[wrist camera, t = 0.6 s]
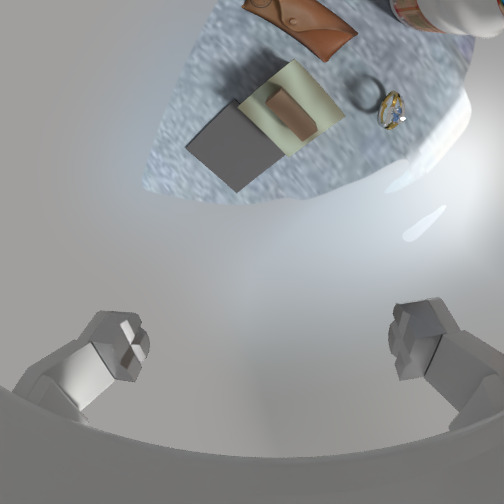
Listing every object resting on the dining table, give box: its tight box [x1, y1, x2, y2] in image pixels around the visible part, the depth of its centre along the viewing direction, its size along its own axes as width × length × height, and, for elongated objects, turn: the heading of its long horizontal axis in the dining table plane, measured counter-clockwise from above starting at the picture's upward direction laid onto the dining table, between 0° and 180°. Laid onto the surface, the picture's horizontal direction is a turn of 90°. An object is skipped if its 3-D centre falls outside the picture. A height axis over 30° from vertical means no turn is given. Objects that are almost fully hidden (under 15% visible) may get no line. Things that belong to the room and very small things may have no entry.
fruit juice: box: [389, 0, 504, 38], centre depth 17 cm, size 9×9×28 cm
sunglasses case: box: [242, 0, 358, 62], centre depth 32 cm, size 18×7×7 cm
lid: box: [238, 59, 345, 157], centre depth 39 cm, size 12×12×5 cm
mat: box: [186, 100, 286, 193], centre depth 52 cm, size 14×14×1 cm
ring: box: [377, 91, 405, 130], centre depth 38 cm, size 7×3×8 cm, turn 161°
